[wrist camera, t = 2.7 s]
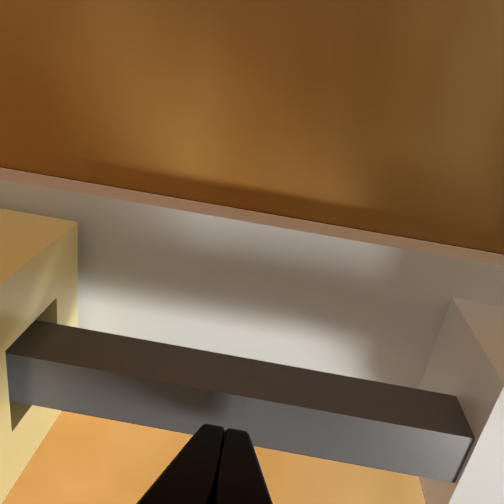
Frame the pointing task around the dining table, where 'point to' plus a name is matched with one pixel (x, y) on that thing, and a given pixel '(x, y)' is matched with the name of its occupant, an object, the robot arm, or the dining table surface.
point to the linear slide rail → (274, 334)
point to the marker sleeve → (31, 319)
